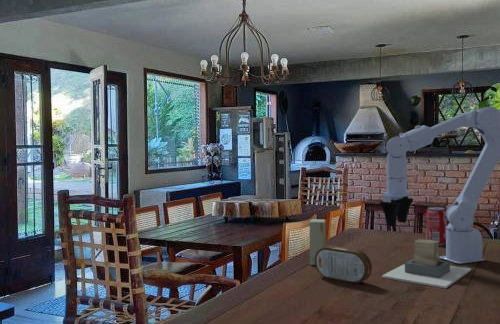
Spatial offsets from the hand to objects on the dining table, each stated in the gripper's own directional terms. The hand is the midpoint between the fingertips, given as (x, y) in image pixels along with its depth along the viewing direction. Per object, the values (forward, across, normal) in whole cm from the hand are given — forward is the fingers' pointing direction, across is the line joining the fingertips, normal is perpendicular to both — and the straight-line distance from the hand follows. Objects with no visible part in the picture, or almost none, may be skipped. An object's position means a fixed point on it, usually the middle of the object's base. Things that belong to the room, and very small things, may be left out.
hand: (396, 224), depth 150 cm
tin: (+10, +30, -1) cm, 32 cm away
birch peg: (+9, +12, +13) cm, 21 cm away
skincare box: (+10, +19, -16) cm, 26 cm away
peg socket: (+10, +12, +14) cm, 21 cm away
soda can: (+10, -25, +3) cm, 27 cm away
